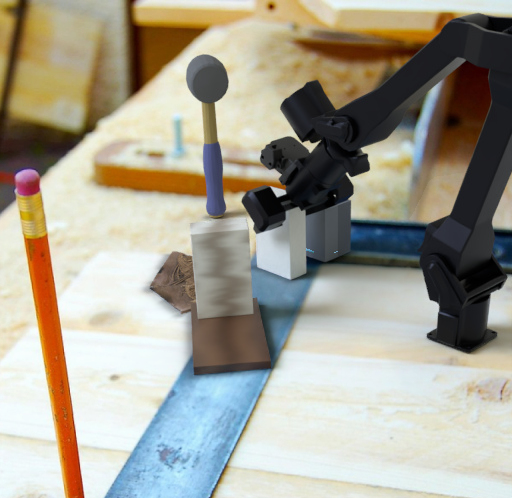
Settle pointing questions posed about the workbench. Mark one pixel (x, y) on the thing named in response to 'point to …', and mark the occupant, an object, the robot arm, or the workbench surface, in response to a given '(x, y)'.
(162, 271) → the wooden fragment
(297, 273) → the white rectangular block
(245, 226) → the marble panel stand
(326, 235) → the grey box
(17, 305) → the workbench surface
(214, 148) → the rubber mallet
